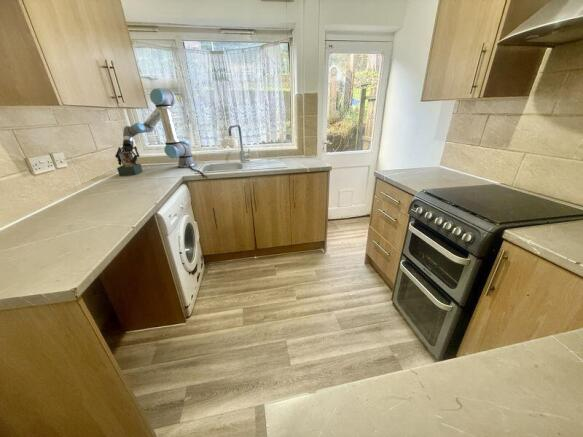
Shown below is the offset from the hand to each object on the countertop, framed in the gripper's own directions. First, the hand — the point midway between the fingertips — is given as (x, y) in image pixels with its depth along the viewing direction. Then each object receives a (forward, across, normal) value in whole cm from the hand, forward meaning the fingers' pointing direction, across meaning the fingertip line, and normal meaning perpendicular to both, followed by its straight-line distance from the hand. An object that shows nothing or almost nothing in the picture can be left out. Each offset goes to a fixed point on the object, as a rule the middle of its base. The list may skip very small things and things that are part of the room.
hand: (127, 163), depth 204 cm
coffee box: (+3, 0, -7) cm, 8 cm away
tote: (+4, 0, -8) cm, 9 cm away
